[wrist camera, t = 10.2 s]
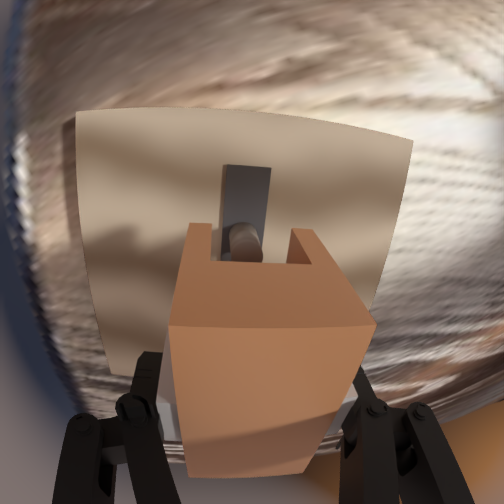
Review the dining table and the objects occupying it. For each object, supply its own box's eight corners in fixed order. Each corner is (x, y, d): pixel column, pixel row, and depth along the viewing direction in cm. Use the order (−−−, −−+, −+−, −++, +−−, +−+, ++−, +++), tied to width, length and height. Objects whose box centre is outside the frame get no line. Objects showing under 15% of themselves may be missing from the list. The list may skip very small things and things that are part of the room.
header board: (86, 110, 15) (50, 114, 11) (401, 137, 18) (442, 148, 14) (114, 361, 24) (103, 401, 20) (338, 364, 26) (353, 401, 22)
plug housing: (189, 222, 14) (168, 325, 7) (312, 229, 14) (377, 325, 8) (191, 376, 18) (188, 477, 12) (280, 376, 19) (302, 472, 12)
